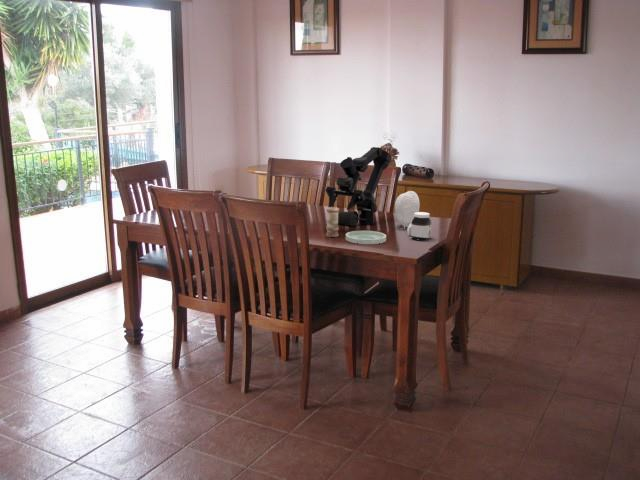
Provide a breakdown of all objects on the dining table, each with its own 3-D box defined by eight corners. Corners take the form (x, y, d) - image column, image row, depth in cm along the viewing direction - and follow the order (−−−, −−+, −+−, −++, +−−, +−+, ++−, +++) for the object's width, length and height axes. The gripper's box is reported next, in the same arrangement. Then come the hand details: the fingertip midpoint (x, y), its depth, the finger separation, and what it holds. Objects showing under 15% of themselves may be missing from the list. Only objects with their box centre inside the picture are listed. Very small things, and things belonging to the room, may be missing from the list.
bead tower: (338, 234, 325) (339, 207, 322) (338, 237, 320) (339, 209, 317) (326, 234, 325) (326, 206, 322) (326, 237, 320) (326, 209, 317)
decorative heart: (410, 231, 334) (412, 196, 330) (389, 229, 339) (390, 193, 335) (422, 224, 350) (424, 190, 346) (402, 222, 354) (403, 188, 350)
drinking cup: (336, 217, 355) (371, 219, 345) (330, 228, 351) (366, 230, 340) (331, 206, 350) (366, 208, 340) (325, 217, 346) (361, 219, 336)
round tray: (384, 235, 326) (384, 231, 326) (387, 244, 308) (387, 240, 308) (345, 234, 326) (345, 230, 326) (346, 243, 309) (346, 239, 308)
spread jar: (423, 242, 315) (425, 216, 312) (400, 238, 321) (402, 213, 318) (434, 237, 325) (436, 212, 322) (412, 233, 331) (413, 209, 328)
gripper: (327, 169, 329) (315, 195, 322) (363, 172, 320) (351, 200, 313) (335, 183, 338) (323, 210, 331) (370, 187, 328) (358, 214, 322)
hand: (338, 208), depth 324 cm, fingers open, 9 cm apart
